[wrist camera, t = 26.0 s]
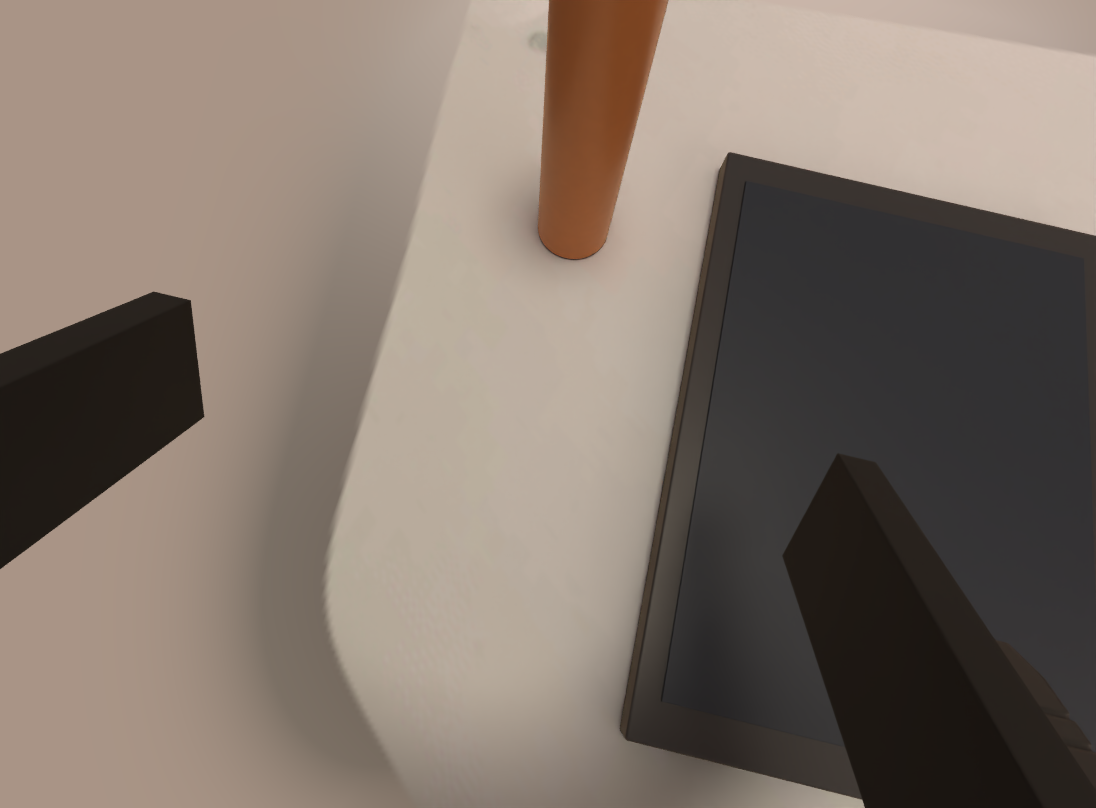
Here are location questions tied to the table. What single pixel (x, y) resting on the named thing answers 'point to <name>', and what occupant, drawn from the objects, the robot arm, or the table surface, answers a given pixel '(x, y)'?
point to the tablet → (866, 450)
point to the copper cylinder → (591, 114)
